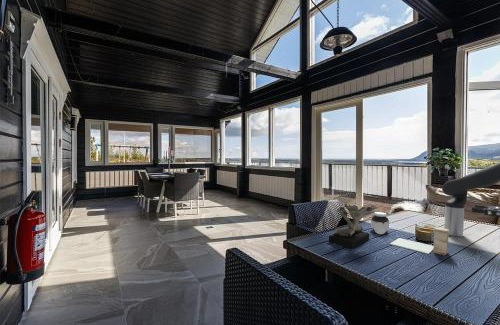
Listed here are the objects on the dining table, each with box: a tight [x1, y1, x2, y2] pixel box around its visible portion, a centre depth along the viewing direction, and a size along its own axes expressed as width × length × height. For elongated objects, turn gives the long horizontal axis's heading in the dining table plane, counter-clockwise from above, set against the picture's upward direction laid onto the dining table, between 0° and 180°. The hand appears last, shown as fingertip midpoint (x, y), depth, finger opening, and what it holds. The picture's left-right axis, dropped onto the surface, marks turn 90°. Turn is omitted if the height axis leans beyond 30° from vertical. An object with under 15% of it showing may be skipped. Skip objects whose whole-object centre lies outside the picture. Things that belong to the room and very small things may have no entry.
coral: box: [328, 203, 378, 250], centre depth 146 cm, size 25×20×22 cm
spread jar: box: [370, 211, 390, 235], centre depth 165 cm, size 12×11×12 cm
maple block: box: [432, 226, 450, 256], centre depth 131 cm, size 5×5×12 cm
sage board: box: [389, 237, 434, 255], centre depth 141 cm, size 14×18×1 cm
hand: (473, 208), depth 123 cm, fingers open, 7 cm apart
